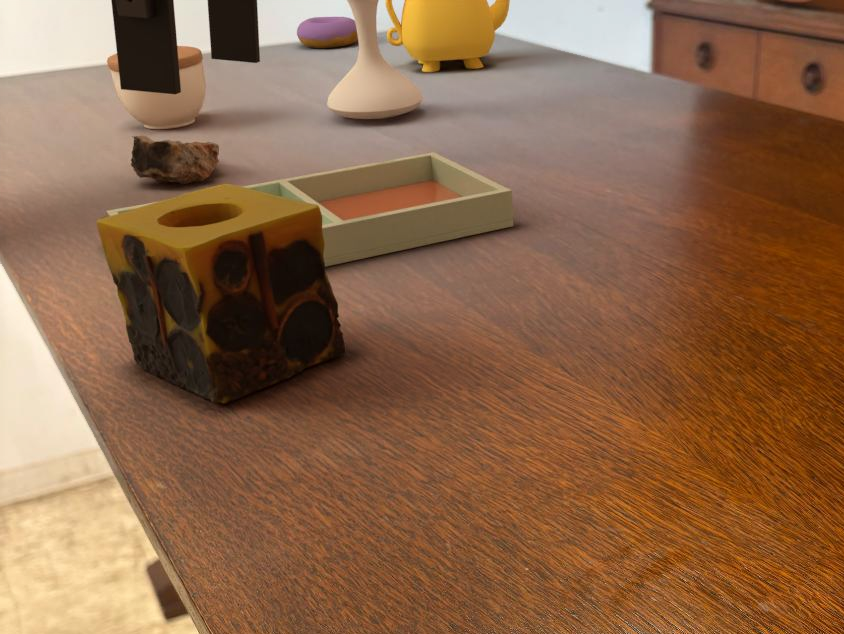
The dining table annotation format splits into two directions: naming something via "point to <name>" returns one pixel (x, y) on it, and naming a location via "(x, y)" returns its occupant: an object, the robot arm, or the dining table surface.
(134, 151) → the rock
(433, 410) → the dining table surface
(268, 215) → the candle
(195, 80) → the trinket box
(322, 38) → the donut
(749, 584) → the dining table surface
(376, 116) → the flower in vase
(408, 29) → the teapot
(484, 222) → the tray
